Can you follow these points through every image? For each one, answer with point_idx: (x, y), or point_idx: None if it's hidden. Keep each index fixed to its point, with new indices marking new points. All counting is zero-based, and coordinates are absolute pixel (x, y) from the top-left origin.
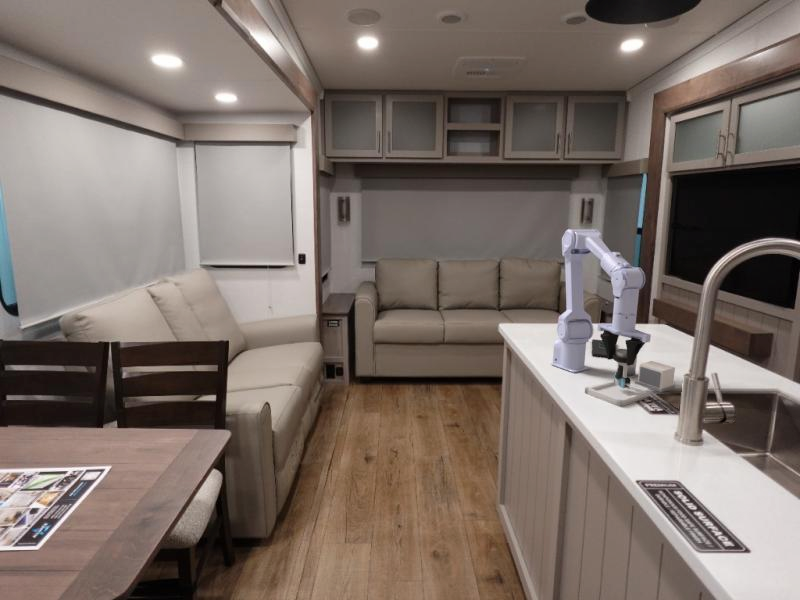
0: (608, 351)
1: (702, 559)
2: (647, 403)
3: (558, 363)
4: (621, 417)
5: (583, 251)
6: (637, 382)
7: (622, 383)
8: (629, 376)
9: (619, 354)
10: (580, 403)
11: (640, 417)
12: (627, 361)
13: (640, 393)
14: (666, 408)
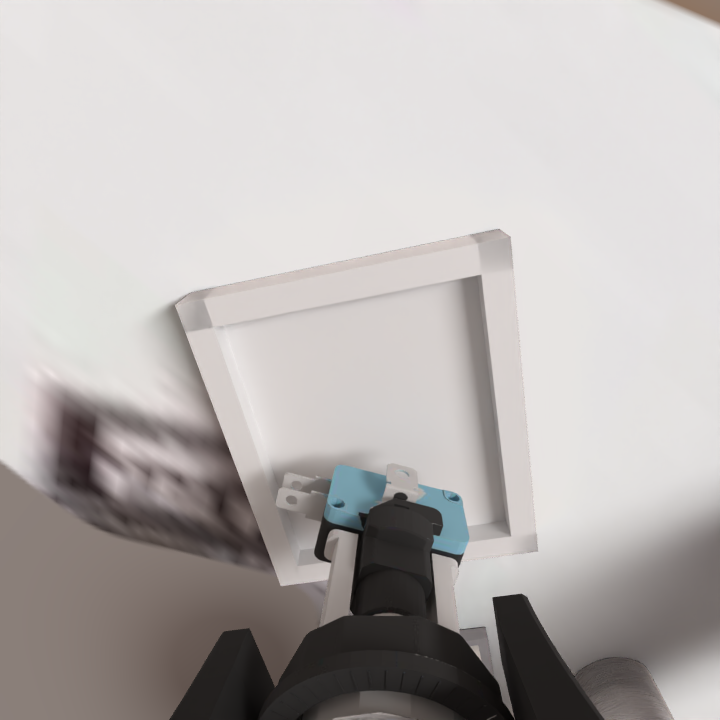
0: (534, 702)
1: None
2: (207, 486)
3: None
4: (8, 158)
5: None
6: (473, 638)
7: (341, 487)
8: (582, 669)
9: None
10: (323, 15)
11: (4, 291)
12: (213, 671)
13: (272, 522)
14: (122, 522)
